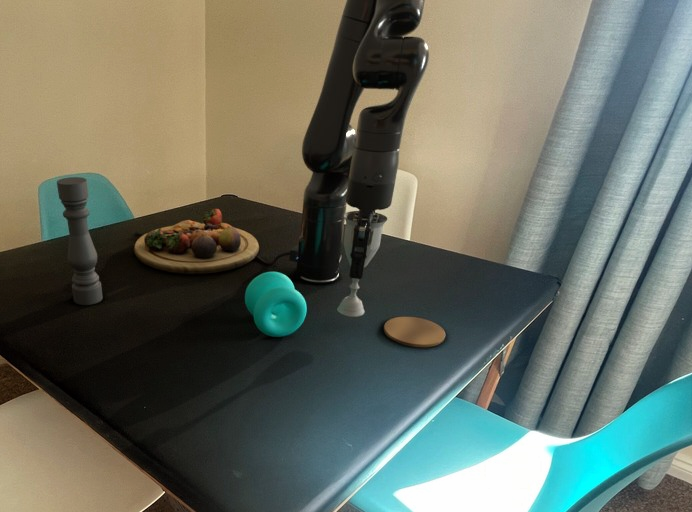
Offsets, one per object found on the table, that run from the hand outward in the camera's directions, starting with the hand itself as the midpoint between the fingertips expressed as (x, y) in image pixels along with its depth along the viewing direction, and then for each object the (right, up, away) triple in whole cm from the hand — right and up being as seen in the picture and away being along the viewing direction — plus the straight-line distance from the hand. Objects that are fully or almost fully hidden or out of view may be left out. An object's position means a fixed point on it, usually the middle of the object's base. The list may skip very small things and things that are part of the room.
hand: (357, 270), depth 100 cm
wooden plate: (-30, +12, +42) cm, 53 cm away
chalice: (0, -7, +4) cm, 8 cm away
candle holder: (-53, -3, +19) cm, 57 cm away
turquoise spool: (-14, -10, +7) cm, 19 cm away
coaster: (+12, -11, +5) cm, 17 cm away
